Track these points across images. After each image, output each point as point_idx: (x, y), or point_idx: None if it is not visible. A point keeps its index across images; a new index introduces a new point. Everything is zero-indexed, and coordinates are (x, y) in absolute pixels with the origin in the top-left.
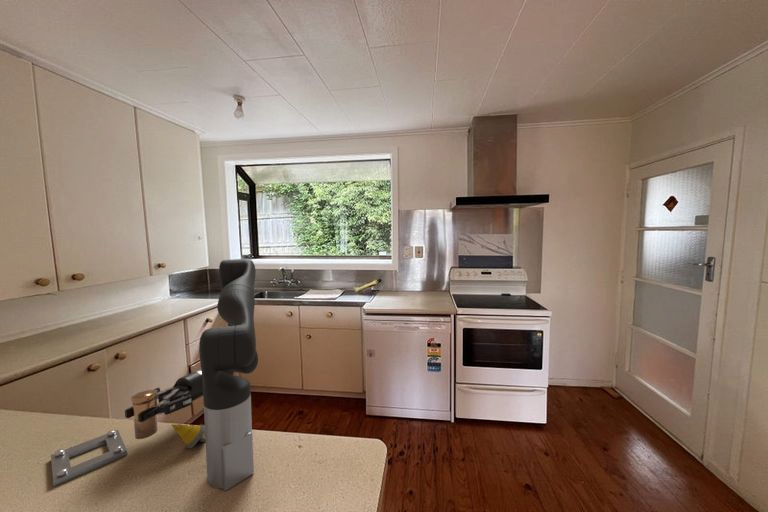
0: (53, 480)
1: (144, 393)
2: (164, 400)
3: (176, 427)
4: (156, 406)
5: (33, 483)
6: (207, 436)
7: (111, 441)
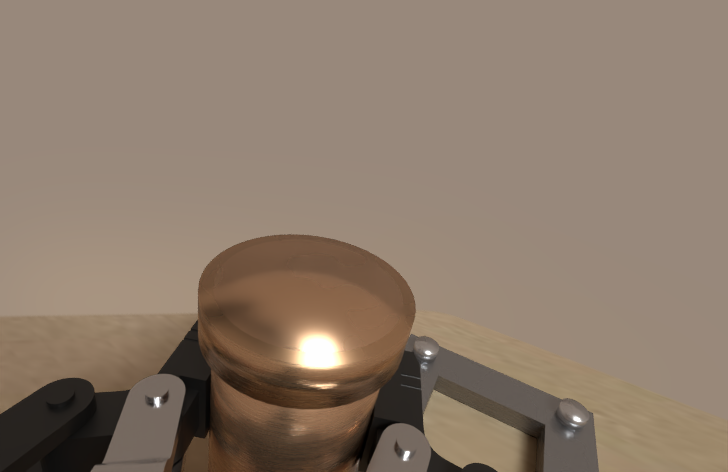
0: (415, 336)
1: (337, 303)
2: (140, 460)
3: None
4: (189, 399)
5: (479, 353)
6: None
7: None
